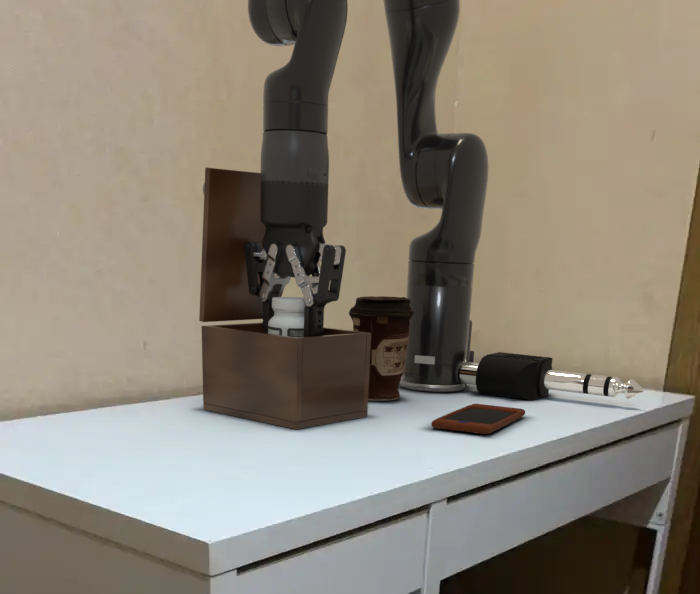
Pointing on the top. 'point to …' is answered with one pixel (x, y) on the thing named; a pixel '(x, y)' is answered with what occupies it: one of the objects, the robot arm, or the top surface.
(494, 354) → the audio adapter
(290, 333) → the pill bottle
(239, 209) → the lid
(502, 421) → the smartphone
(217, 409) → the walnut box
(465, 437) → the top surface
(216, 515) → the top surface
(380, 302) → the coffee cup
